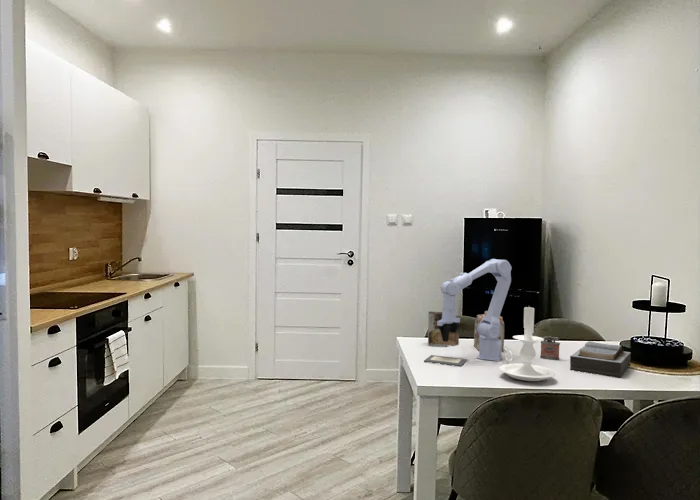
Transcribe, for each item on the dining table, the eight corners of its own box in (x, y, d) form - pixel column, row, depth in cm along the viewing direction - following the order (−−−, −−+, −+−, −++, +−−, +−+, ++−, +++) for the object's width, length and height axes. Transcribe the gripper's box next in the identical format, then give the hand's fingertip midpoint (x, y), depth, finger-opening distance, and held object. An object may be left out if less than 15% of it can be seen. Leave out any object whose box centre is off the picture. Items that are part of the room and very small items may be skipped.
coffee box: (446, 344, 268) (447, 311, 268) (447, 346, 262) (448, 313, 261) (427, 343, 269) (428, 311, 269) (428, 346, 263) (429, 312, 262)
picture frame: (467, 360, 235) (467, 358, 234) (461, 366, 224) (461, 364, 224) (431, 356, 241) (431, 354, 241) (423, 362, 230) (423, 360, 230)
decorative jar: (503, 352, 253) (505, 313, 253) (478, 351, 254) (480, 313, 253) (497, 346, 265) (498, 310, 265) (473, 346, 265) (474, 309, 265)
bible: (642, 369, 227) (643, 346, 227) (617, 380, 208) (618, 355, 208) (586, 359, 244) (587, 337, 244) (558, 368, 225) (559, 345, 225)
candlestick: (524, 367, 225) (526, 300, 224) (567, 383, 202) (570, 308, 201) (482, 370, 218) (484, 301, 217) (522, 388, 195) (524, 310, 194)
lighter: (539, 358, 242) (540, 336, 242) (540, 356, 245) (541, 334, 245) (558, 360, 238) (559, 338, 238) (559, 359, 241) (560, 336, 241)
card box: (443, 341, 239) (443, 330, 238) (458, 344, 233) (458, 333, 233) (437, 343, 236) (438, 331, 236) (453, 346, 230) (453, 334, 230)
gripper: (447, 312, 226) (446, 344, 226) (466, 309, 236) (465, 339, 237) (433, 309, 231) (432, 341, 231) (452, 307, 241) (451, 337, 242)
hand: (448, 340), depth 234 cm, fingers closed on card box, 4 cm apart
